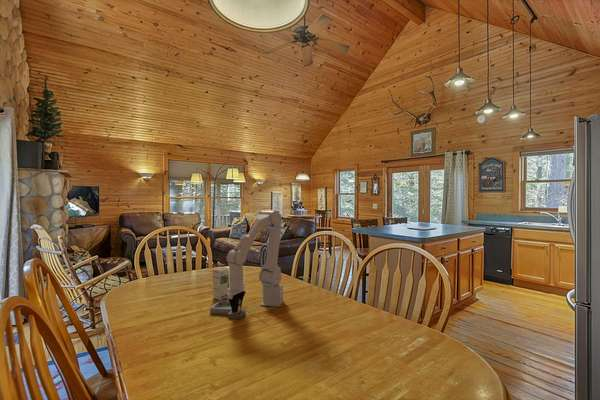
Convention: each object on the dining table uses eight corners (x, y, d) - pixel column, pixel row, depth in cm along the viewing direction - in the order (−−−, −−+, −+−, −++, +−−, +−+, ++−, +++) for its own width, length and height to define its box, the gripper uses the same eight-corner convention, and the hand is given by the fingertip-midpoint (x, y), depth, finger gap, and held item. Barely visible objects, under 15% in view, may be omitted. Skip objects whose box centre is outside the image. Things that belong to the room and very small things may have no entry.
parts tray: (239, 307, 141) (239, 301, 141) (230, 315, 132) (230, 309, 132) (219, 305, 143) (219, 300, 143) (210, 313, 133) (210, 307, 133)
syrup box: (220, 300, 151) (219, 270, 150) (212, 297, 154) (212, 269, 154) (229, 297, 155) (228, 268, 155) (221, 294, 159) (221, 266, 158)
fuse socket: (245, 314, 133) (245, 309, 133) (240, 319, 127) (240, 314, 127) (233, 313, 134) (233, 308, 134) (227, 318, 128) (227, 313, 128)
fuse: (241, 314, 132) (241, 298, 132) (238, 317, 129) (238, 301, 129) (234, 314, 132) (234, 298, 132) (231, 317, 129) (231, 300, 129)
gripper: (234, 273, 138) (234, 303, 138) (219, 282, 124) (220, 316, 124) (249, 274, 137) (249, 304, 137) (236, 283, 123) (236, 317, 123)
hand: (236, 310), depth 130 cm, fingers closed on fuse, 3 cm apart
